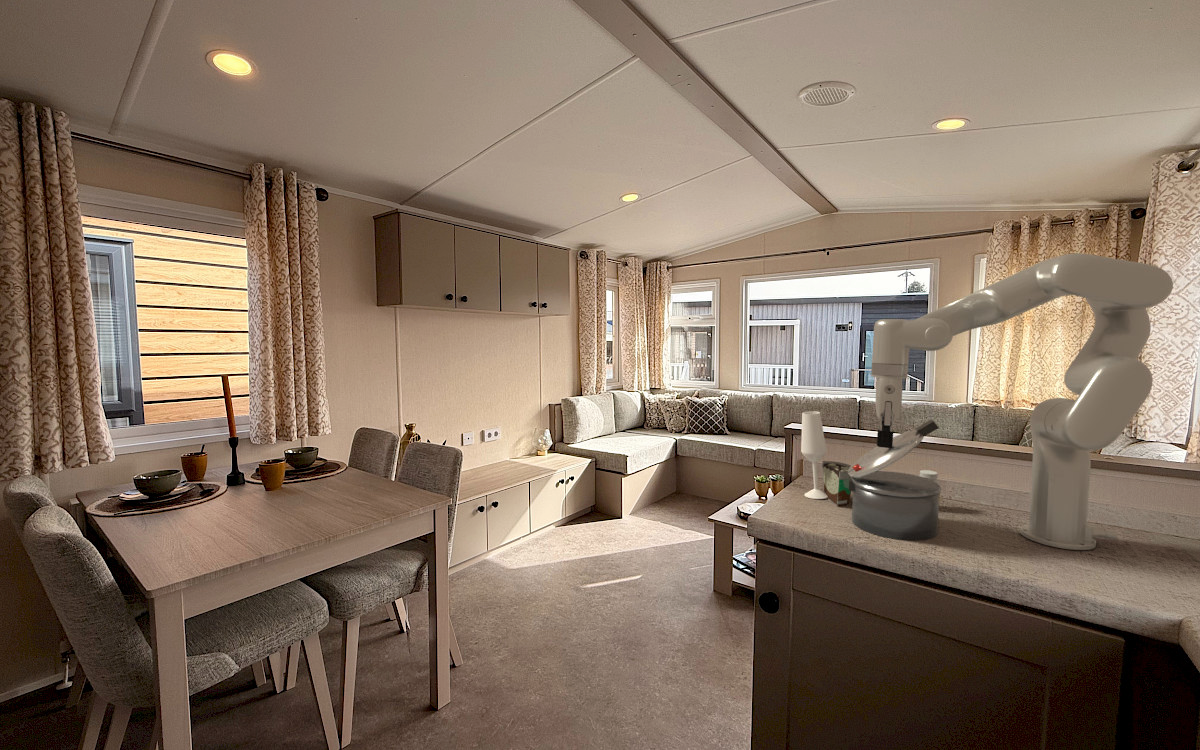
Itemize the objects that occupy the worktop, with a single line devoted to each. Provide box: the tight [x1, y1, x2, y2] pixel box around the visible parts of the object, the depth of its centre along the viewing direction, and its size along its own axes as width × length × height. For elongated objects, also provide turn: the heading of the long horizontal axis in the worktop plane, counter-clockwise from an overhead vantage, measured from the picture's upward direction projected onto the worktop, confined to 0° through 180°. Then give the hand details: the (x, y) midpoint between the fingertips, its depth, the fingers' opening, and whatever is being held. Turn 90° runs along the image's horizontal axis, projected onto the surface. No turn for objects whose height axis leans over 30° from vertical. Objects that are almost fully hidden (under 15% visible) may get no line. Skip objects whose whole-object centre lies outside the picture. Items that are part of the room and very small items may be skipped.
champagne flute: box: [800, 410, 828, 500], centre depth 146 cm, size 7×7×24 cm
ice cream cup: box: [821, 460, 852, 508], centre depth 141 cm, size 12×6×10 cm, turn 178°
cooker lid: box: [848, 419, 940, 479], centre depth 122 cm, size 22×19×2 cm
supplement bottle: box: [919, 469, 941, 503], centre depth 135 cm, size 5×5×10 cm
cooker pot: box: [849, 470, 942, 542], centre depth 123 cm, size 19×19×11 cm
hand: (884, 446), depth 123 cm, fingers closed
